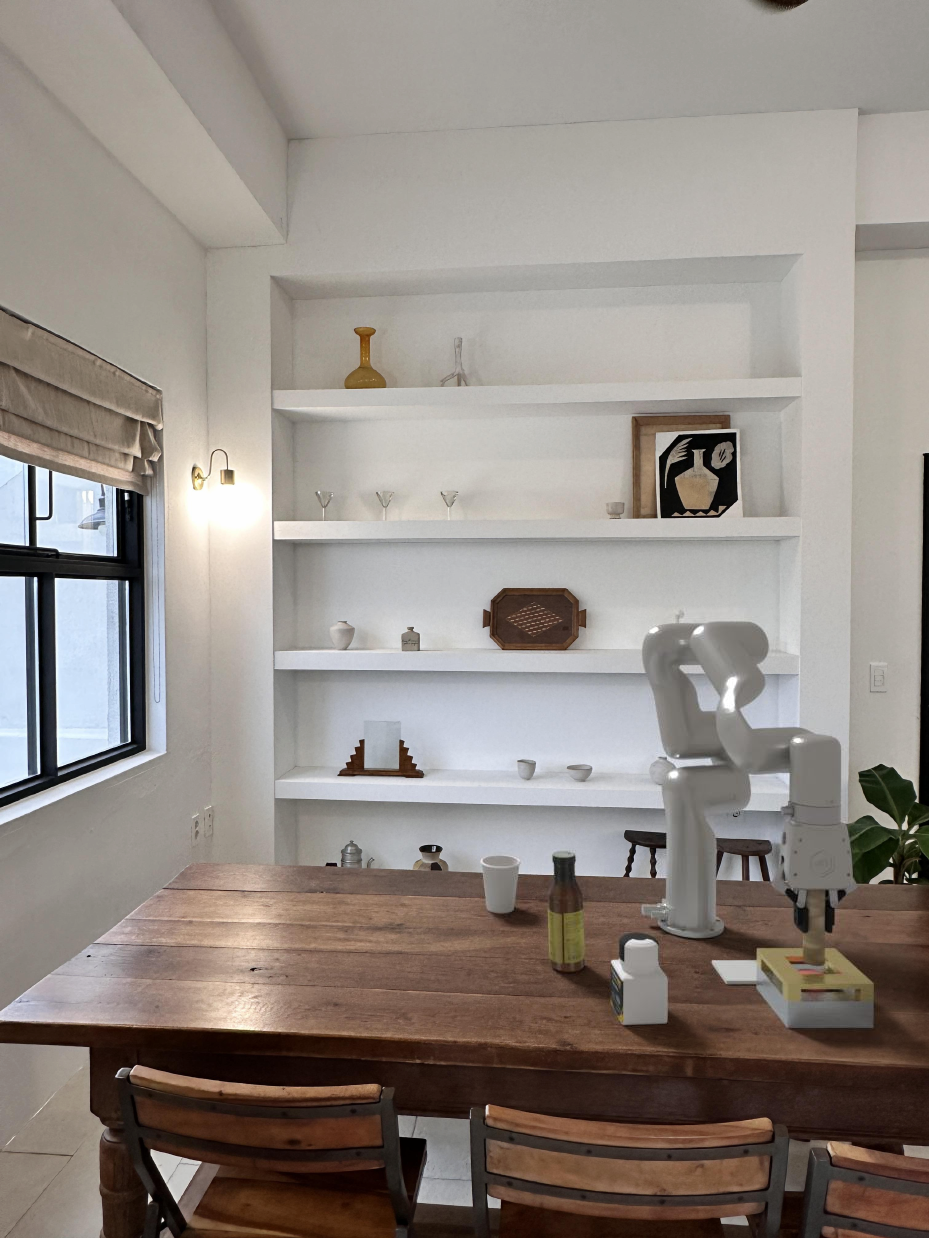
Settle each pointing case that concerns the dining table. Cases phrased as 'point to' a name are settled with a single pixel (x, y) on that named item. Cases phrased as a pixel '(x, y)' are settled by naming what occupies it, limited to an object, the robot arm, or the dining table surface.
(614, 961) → the medicine bottle
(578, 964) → the sauce bottle
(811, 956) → the beige cylinder rod
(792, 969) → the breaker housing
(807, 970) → the button
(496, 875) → the dixie cup
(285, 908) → the dining table surface
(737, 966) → the pad
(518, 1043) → the dining table surface
